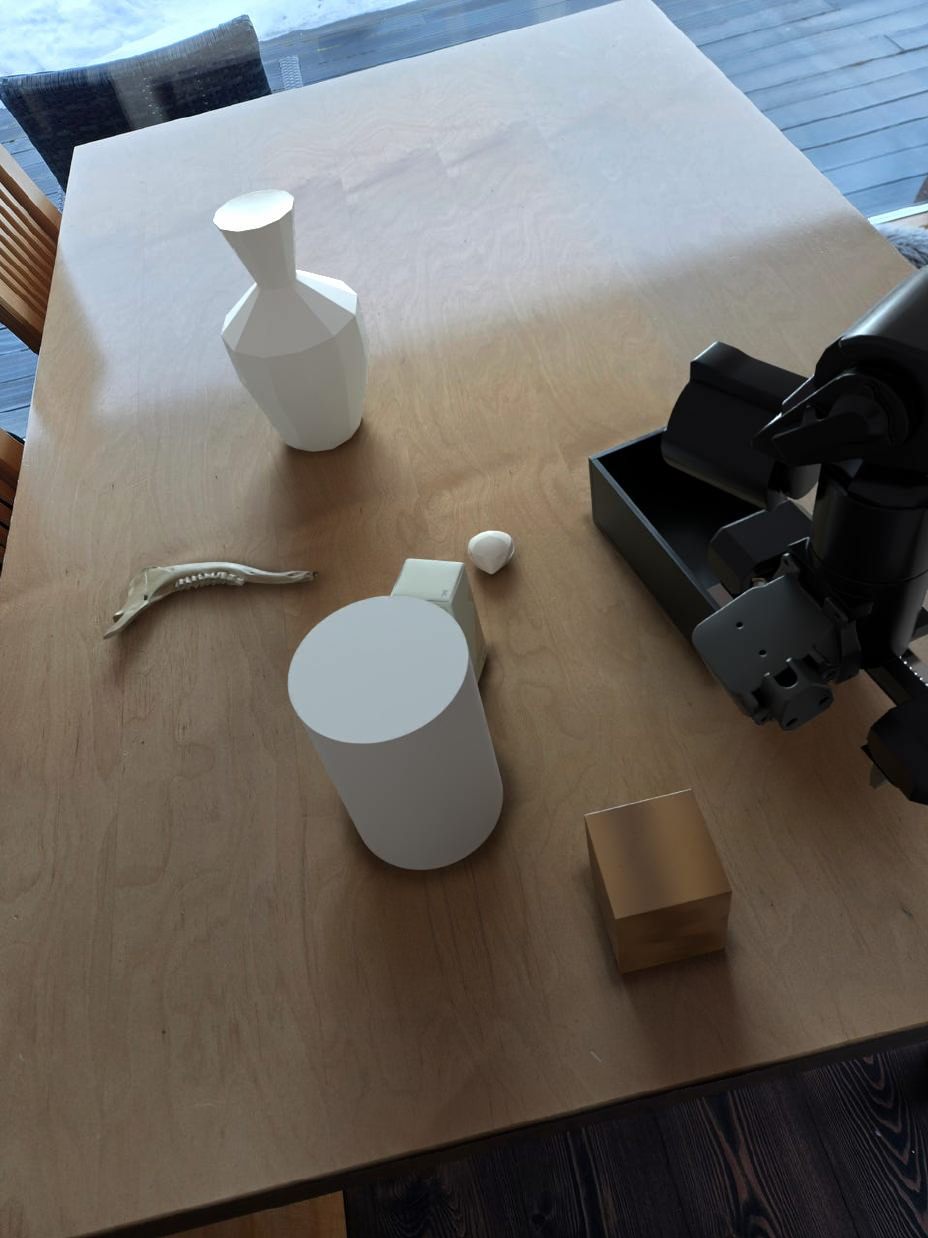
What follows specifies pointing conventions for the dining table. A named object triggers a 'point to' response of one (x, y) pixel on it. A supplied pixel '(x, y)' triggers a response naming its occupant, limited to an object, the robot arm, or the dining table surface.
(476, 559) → the white seashell
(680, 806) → the stand
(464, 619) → the box
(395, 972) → the dining table surface
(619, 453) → the trash bin
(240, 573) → the jawbone
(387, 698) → the white solid cylinder
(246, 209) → the vase
